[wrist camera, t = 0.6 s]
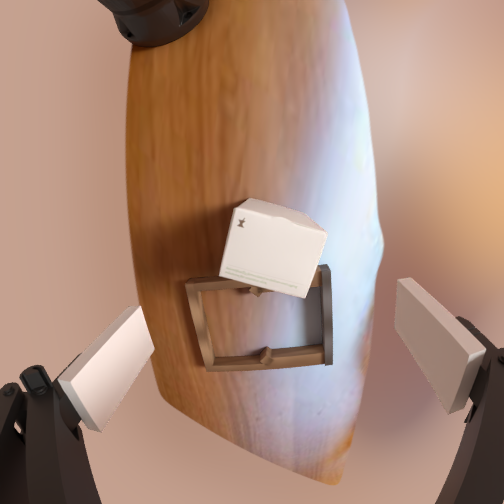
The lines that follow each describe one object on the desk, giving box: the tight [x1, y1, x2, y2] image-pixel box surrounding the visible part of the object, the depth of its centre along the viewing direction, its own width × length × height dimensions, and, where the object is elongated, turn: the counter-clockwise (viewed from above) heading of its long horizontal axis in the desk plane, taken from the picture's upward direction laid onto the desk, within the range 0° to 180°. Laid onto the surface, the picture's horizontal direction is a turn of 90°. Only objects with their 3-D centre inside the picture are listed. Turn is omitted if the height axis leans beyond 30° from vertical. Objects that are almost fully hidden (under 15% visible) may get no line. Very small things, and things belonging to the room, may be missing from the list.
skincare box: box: [219, 198, 328, 298], centre depth 31 cm, size 8×7×16 cm
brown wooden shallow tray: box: [185, 264, 333, 372], centre depth 41 cm, size 15×20×3 cm
